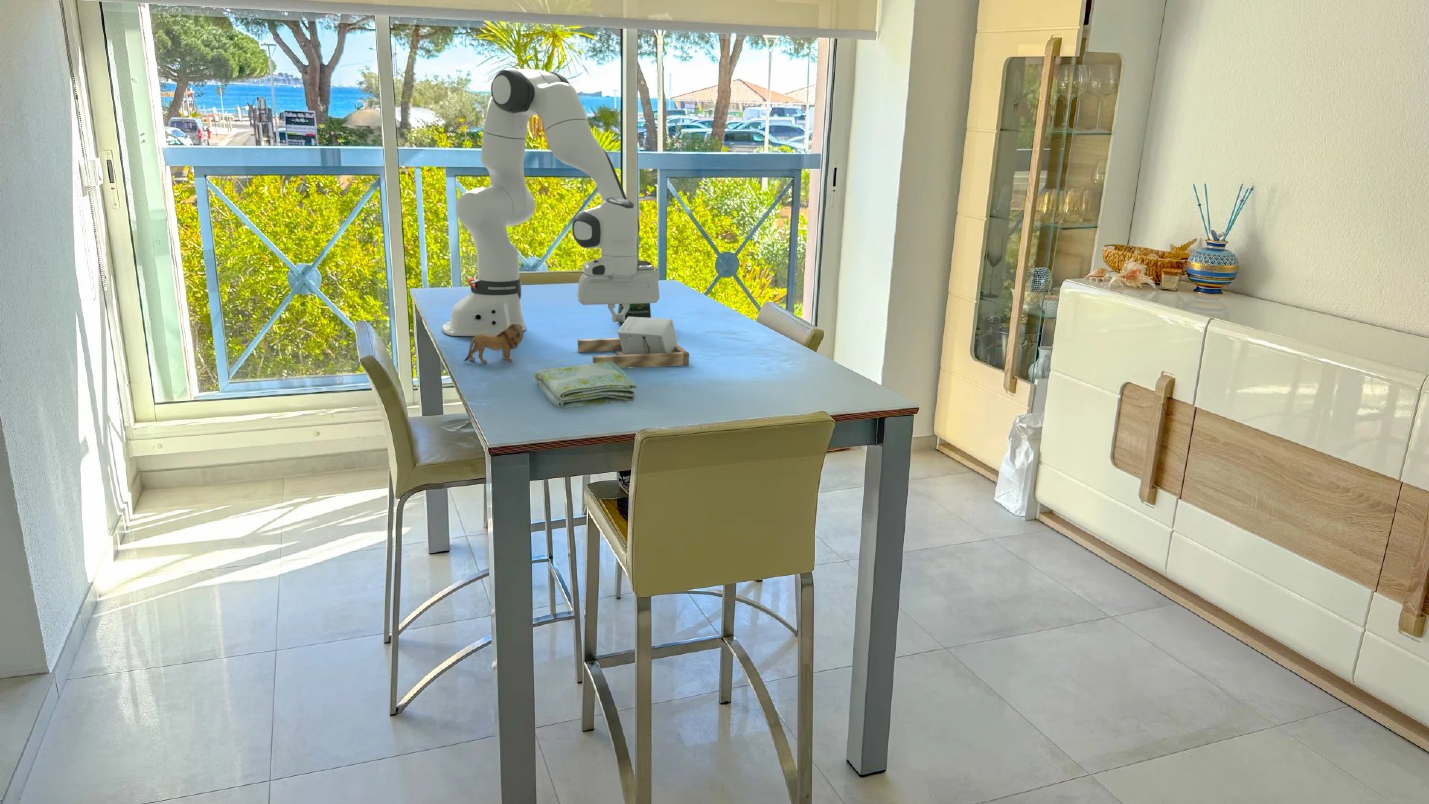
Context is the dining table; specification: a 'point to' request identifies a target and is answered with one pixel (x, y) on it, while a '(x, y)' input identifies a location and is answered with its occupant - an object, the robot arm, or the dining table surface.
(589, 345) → the corral
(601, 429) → the dining table surface
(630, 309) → the coffee jar
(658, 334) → the supplement box
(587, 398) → the towel
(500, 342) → the lion figurine
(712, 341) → the dining table surface
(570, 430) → the dining table surface
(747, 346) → the dining table surface
